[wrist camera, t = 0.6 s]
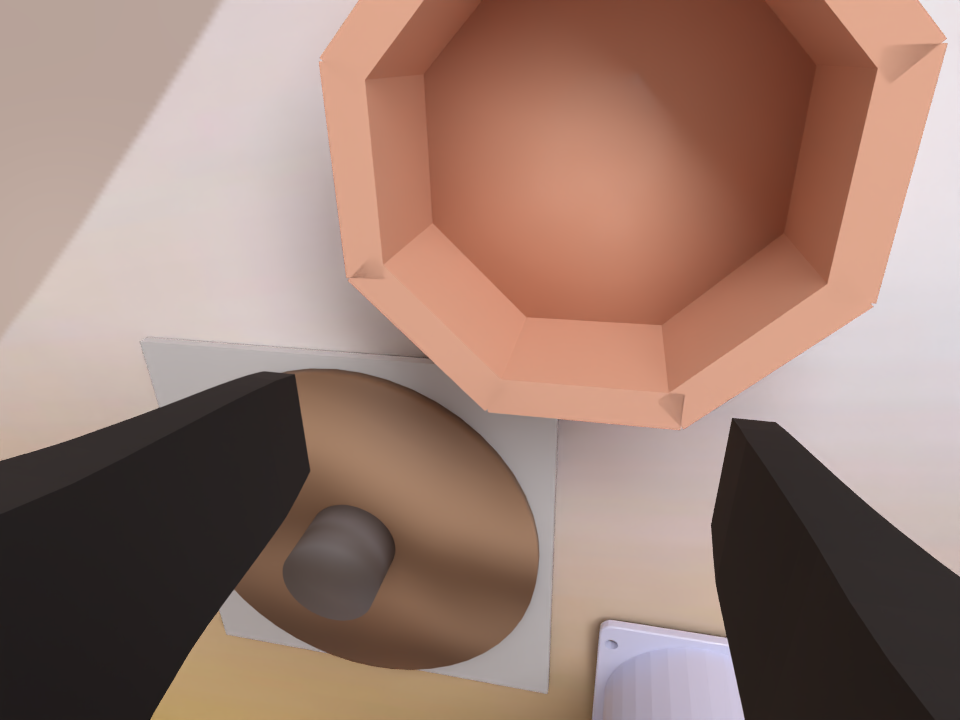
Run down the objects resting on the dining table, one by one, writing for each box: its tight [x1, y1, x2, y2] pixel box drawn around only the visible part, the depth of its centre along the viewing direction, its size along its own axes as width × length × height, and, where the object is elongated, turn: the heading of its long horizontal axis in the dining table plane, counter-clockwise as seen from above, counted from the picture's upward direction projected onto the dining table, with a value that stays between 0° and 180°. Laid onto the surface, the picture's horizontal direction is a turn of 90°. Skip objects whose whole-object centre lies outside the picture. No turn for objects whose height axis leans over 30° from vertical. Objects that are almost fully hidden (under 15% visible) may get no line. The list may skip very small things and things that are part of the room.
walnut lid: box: [234, 368, 540, 670], centre depth 24 cm, size 15×15×3 cm
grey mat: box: [140, 337, 558, 694], centre depth 26 cm, size 16×16×1 cm
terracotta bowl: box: [319, 0, 948, 430], centre depth 15 cm, size 12×12×5 cm
